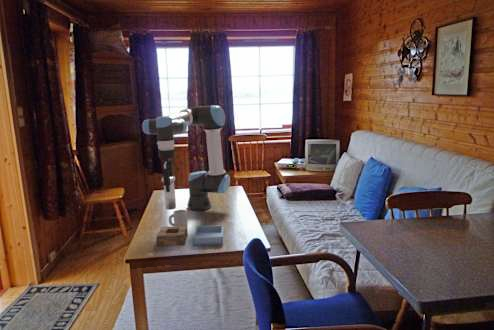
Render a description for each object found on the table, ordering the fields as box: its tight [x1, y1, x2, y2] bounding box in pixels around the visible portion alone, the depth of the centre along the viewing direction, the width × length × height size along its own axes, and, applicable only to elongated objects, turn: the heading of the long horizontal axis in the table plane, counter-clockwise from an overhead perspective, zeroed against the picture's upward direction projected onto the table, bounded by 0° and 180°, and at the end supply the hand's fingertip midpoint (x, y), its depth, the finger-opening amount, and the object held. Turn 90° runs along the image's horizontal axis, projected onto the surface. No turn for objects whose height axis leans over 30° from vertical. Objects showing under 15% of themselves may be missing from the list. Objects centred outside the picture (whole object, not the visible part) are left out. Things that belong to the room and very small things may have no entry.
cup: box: [168, 209, 189, 228], centre depth 197 cm, size 7×10×9 cm
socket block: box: [156, 225, 189, 247], centre depth 180 cm, size 13×13×5 cm
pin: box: [161, 175, 177, 211], centre depth 176 cm, size 6×6×15 cm
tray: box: [192, 224, 225, 247], centre depth 180 cm, size 16×14×4 cm
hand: (169, 196), depth 176 cm, fingers closed on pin, 5 cm apart
